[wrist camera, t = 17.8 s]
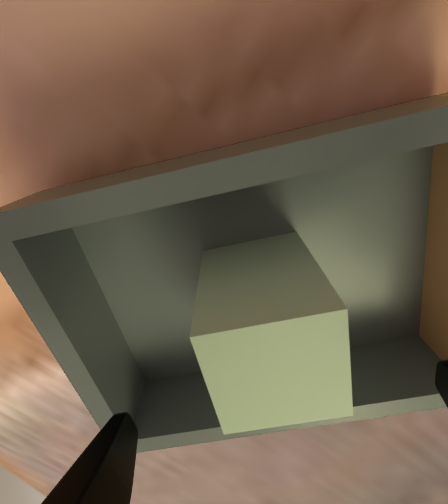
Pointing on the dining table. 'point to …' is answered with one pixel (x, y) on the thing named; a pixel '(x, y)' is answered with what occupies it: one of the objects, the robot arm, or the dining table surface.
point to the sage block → (271, 336)
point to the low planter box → (234, 232)
